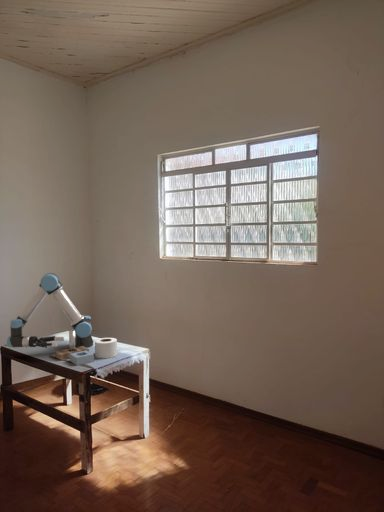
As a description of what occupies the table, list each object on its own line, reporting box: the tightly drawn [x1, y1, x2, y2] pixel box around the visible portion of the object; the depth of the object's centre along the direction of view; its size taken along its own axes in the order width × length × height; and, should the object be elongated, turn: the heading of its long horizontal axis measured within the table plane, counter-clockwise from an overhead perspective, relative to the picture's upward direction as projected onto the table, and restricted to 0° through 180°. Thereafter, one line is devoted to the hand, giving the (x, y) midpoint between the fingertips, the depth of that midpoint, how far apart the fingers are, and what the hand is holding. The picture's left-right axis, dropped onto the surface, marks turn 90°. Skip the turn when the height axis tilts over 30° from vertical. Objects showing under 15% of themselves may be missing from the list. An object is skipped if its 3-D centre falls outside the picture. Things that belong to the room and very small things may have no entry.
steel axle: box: [68, 329, 76, 352], centre depth 261 cm, size 4×4×18 cm
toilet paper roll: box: [94, 337, 118, 359], centre depth 263 cm, size 16×15×11 cm
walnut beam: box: [55, 346, 90, 361], centre depth 261 cm, size 20×10×4 cm, turn 130°
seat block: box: [69, 350, 95, 366], centre depth 249 cm, size 12×12×5 cm
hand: (60, 341), depth 261 cm, fingers open, 13 cm apart
